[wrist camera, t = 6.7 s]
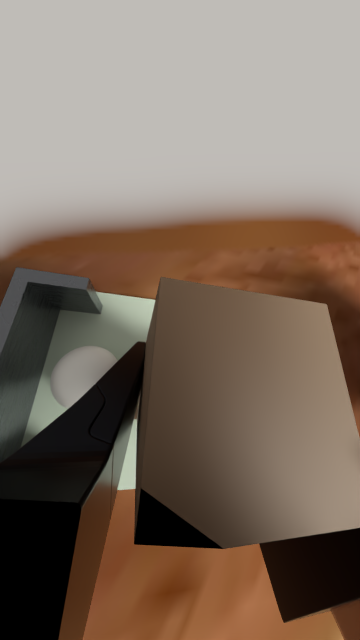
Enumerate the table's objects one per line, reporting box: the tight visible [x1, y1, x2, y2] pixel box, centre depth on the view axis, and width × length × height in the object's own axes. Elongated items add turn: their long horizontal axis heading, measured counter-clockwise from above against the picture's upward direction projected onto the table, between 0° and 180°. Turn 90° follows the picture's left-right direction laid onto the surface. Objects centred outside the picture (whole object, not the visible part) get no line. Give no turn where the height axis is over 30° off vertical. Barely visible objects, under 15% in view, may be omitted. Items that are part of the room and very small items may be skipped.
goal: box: [0, 267, 103, 462], centre depth 11 cm, size 4×12×4 cm, turn 177°
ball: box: [50, 346, 117, 409], centre depth 11 cm, size 4×4×4 cm
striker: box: [134, 277, 360, 549], centre depth 8 cm, size 4×4×12 cm
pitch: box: [21, 292, 155, 490], centre depth 15 cm, size 21×14×1 cm, turn 87°
